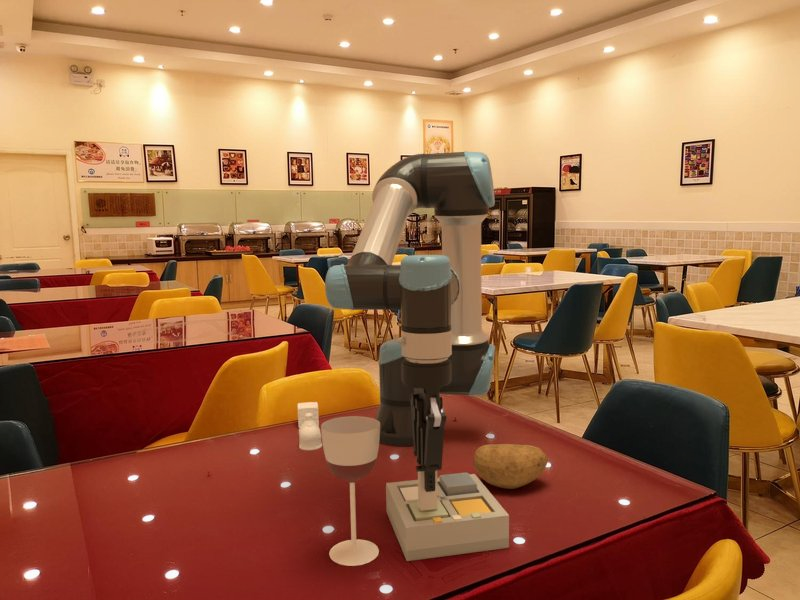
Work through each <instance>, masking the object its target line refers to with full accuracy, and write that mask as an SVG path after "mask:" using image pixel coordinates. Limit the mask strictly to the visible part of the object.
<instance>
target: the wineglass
mask: <svg viewBox="0 0 800 600" xmlns="http://www.w3.org/2000/svg"><path fill="white" fill-rule="evenodd" d="M320 427H321V428H320V432H321V443H322V449H323V453H324V456H325V461H326V462H325V463H326V465H327V468H328V470H329V471H330V473H332V474H333V475H334V476H335V477H337V478H339V479H342V480H344V481H347V482H349V502H350V509H349V510H350V537H351V538H350V539H347V540H343V541H340V542H338V543H337V544H335V545H333V546H332V548H330V550H329V553H328V555H329V558H330V559H331V560H332V561H333V562H334V563H336V564H338V565H341V566H347V567H349V566H350V567H351V566H352V567H356V566H362V565H365V564H368V563H370V562H372V561H374V560H375V559H376V558H377V557H378V556H379V552H380V550H379V548H378V545H376V544H375V543H374V542H372V541H370V540H366V539H359V538H358V539H357V516H356V515H357V514H356V482H357V481H358V480H360V479H363V478H364V477H366V476H368V475H369V474H371V472H372V471H373V470H374V469H375V466H376V464H377V460H378V453H379V447H380V442H379V439H380V422H379V421H378V420H376V418H373V417H370V416H369V417H368V416H362V415H359V416H358V415H354V416H353V415H352V416H351V415H350V416H349V415H348V416H339V417H334V418H331V419H328V420H326V421H323V422H322V424H321V425H320Z"/></svg>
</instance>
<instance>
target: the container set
mask: <svg viewBox="0 0 800 600" xmlns="http://www.w3.org/2000/svg"><path fill="white" fill-rule="evenodd" d="M318 404H319V403H318V402H317V401H315V402H314V401H310V402H309V401H308V402H298V403H297V418H298V419H297V422H298V423H297V424H298V428H299V429H298V438H299V440H298V441H299V444H298V448H299V450H304V451H314V450H319V449H320V448H323V442H322V433H321V428H320V427H319V426H320V422H319V421H320V420H319V419H320V418H319V417H320V416H319V405H318Z"/></svg>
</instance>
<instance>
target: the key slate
mask: <svg viewBox="0 0 800 600" xmlns="http://www.w3.org/2000/svg"><path fill="white" fill-rule="evenodd" d="M469 474H470V473H468V472H467V471H466V472H456V473H448V474H439V477H440V488H441V489H442V491H443V492H444V494H445V495H446V496H452V495H461V494H470V493H477V484H476V482H475V481H474V480H473V479H472V478H471V476H470V475H469ZM439 477H438V478H439Z"/></svg>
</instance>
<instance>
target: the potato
mask: <svg viewBox="0 0 800 600" xmlns="http://www.w3.org/2000/svg"><path fill="white" fill-rule="evenodd" d="M548 459H549V458H548V456H547V455H546V453H545V452H544V451H543V450H542V449H541V448H540V447H538V446H534V445H529V444H517V443H516V444H513V443H501V444H498V443H497V444H484V445H482V446H479V447H478V448H477V449H476V450H475V453H474V456H473V468H474V469H475V471H476V472H477V474H478V476H480V477H481V478H482V479H483V480H484V481H485V482H486V483H488V484H490V485H491V486H494V487H497V488H501V489H512V490H514V489H518V488H521V487H524V486H526V485H529V484H530V483H532V482H534V481H535V480H536V479H538V478H539V477H540V476H541V475H542V474H543V473H544V472H545V470H546V467H547V465H548V462H549V460H548Z"/></svg>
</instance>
